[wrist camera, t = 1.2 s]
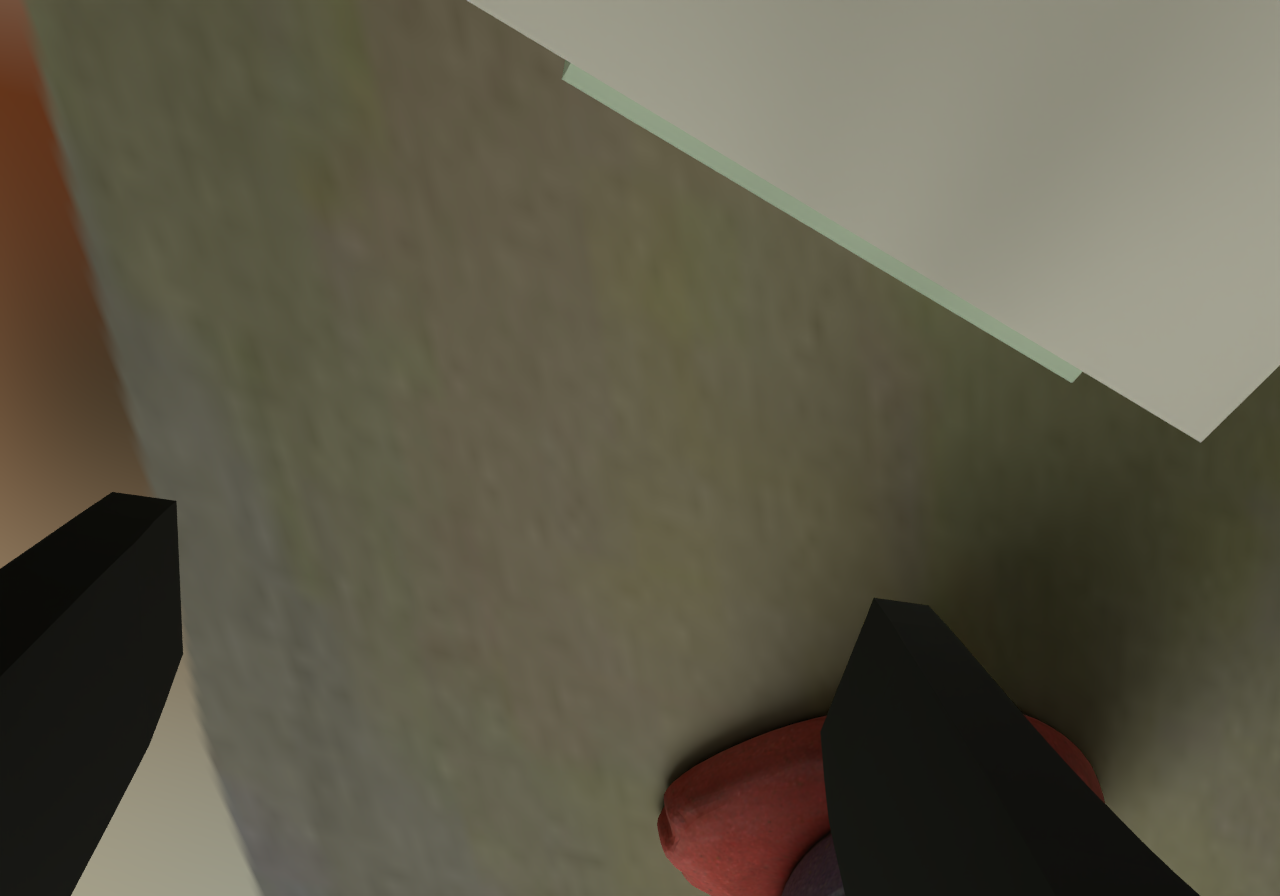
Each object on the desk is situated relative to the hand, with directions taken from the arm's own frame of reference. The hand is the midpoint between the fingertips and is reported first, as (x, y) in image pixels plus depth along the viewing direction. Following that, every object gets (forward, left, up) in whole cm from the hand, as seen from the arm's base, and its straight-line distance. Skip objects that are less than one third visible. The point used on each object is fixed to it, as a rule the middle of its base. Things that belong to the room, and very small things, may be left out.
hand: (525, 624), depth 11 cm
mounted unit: (-2, -7, -9) cm, 12 cm away
